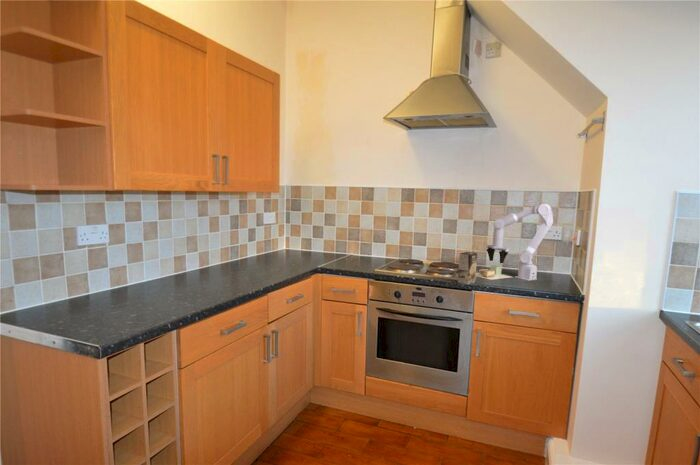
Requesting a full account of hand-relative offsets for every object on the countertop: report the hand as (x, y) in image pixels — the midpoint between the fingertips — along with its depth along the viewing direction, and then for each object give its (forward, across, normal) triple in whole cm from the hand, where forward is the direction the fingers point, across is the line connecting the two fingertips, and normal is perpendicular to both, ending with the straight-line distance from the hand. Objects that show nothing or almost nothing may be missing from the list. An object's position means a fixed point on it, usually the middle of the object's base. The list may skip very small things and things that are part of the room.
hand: (496, 261), depth 241 cm
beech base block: (+7, +3, -11) cm, 14 cm away
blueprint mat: (+8, +2, -6) cm, 10 cm away
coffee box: (+8, +8, -32) cm, 34 cm away
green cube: (+7, 0, 0) cm, 7 cm away
